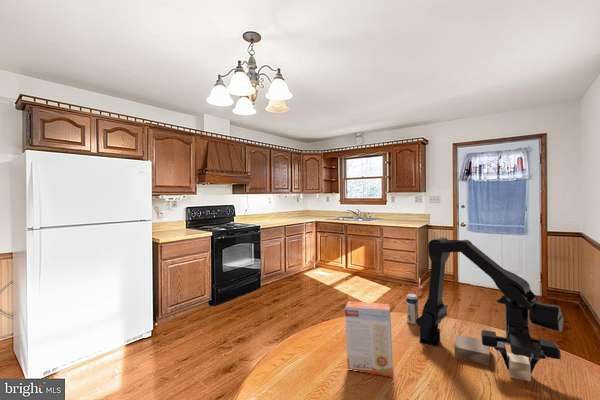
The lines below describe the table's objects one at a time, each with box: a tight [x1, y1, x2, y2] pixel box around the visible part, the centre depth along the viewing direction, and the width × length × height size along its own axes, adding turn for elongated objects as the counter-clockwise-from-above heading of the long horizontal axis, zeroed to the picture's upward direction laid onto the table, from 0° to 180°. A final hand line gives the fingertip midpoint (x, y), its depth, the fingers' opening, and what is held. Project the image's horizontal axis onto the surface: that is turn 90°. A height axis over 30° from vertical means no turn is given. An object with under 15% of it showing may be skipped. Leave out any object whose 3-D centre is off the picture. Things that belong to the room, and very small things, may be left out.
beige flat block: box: [454, 334, 491, 366], centre depth 99 cm, size 10×10×4 cm
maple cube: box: [507, 352, 532, 383], centre depth 87 cm, size 5×5×5 cm
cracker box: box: [344, 300, 394, 378], centre depth 93 cm, size 14×6×21 cm, turn 71°
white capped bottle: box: [405, 293, 420, 325], centre depth 126 cm, size 5×5×12 cm
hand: (518, 371), depth 87 cm, fingers closed on maple cube, 5 cm apart
